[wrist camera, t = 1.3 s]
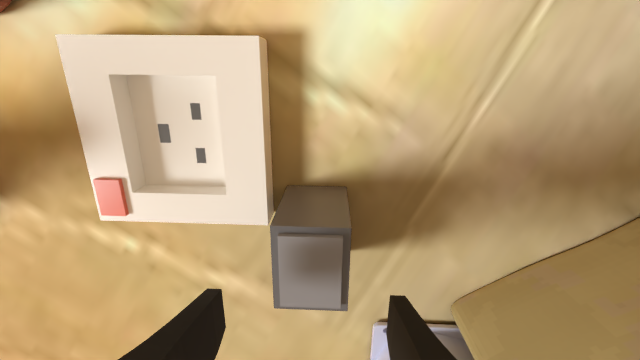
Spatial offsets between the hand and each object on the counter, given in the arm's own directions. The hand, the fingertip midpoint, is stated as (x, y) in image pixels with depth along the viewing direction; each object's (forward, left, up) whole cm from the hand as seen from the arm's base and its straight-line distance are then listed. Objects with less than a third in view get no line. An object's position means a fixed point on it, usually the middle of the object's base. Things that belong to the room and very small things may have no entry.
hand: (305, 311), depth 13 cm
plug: (0, 0, -9) cm, 9 cm away
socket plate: (+8, -6, -9) cm, 14 cm away
